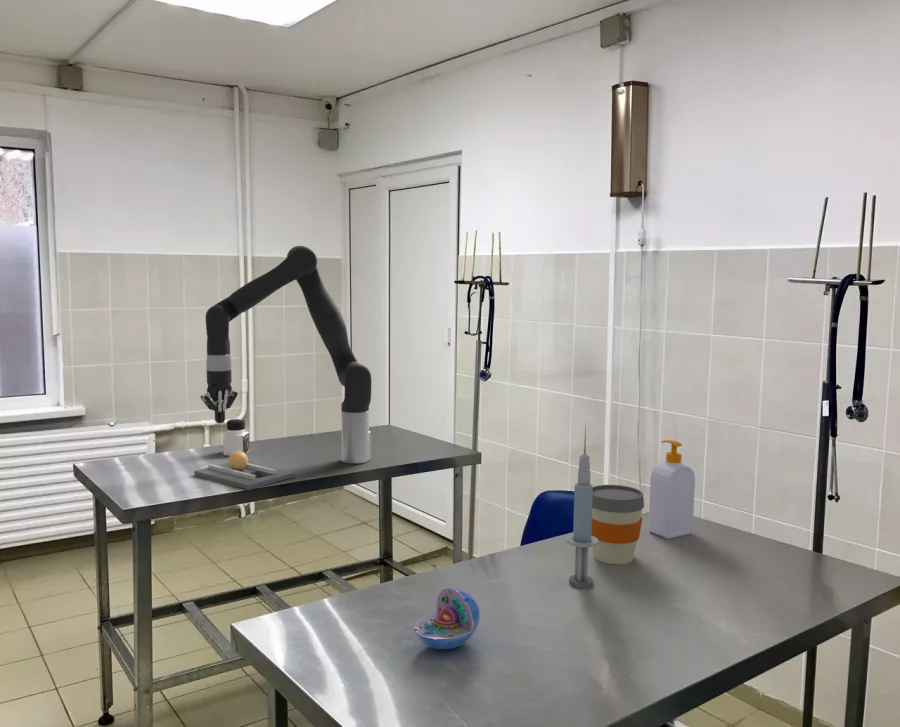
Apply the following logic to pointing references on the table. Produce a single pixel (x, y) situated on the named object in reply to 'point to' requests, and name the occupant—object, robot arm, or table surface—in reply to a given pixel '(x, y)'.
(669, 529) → the soap bottle
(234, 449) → the medicine bottle
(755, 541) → the table surface
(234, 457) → the ball
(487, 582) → the table surface
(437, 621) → the cell model
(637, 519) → the reusable coffee cup
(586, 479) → the syringe
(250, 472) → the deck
